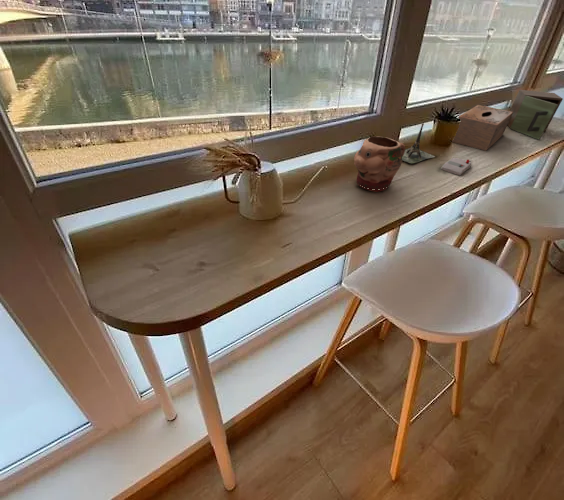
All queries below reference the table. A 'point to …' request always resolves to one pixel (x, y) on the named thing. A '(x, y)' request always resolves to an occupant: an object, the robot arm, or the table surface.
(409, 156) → the eiffel tower figurine
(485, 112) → the tissue box cover
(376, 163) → the decorative planter
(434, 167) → the table surface
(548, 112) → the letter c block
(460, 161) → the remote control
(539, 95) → the green door cabinet
